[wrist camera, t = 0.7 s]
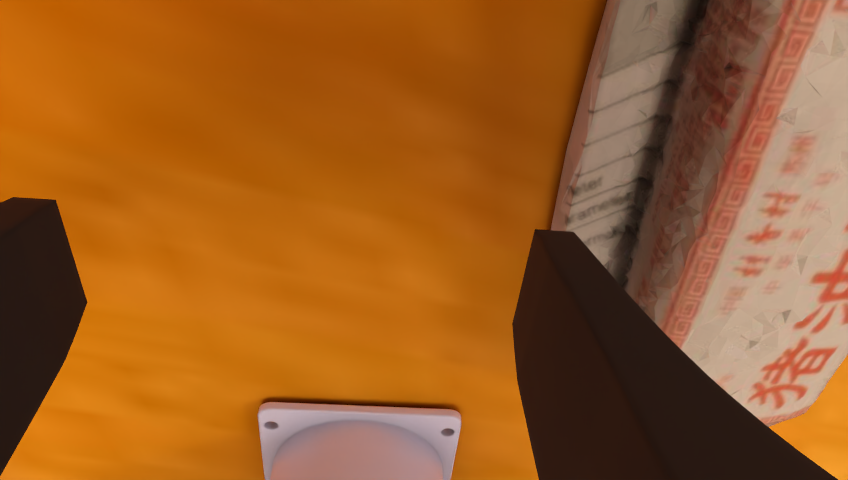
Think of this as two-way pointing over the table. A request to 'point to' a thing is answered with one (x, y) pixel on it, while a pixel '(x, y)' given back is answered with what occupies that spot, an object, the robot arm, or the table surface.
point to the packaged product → (722, 185)
